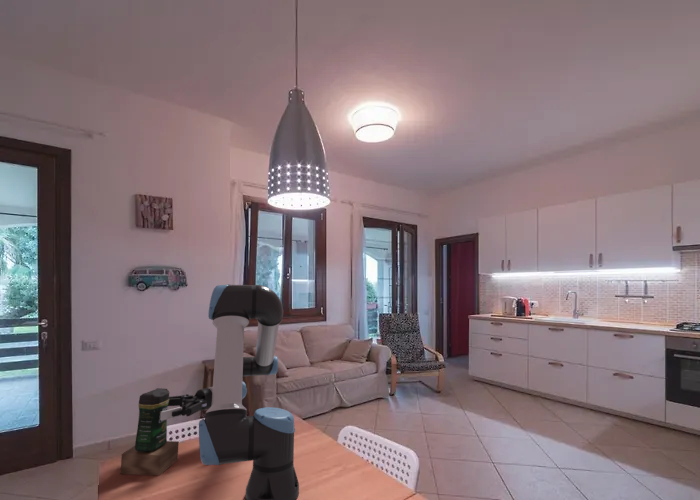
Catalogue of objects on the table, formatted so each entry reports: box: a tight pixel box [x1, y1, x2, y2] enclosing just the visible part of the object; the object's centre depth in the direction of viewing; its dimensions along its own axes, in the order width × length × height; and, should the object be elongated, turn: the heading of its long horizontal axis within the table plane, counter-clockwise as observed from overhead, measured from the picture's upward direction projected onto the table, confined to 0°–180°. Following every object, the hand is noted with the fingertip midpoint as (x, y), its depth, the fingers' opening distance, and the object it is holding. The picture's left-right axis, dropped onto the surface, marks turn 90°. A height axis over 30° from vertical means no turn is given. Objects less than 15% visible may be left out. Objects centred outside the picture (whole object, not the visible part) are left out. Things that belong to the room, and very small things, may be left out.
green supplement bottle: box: [134, 387, 170, 452], centre depth 125 cm, size 10×8×19 cm
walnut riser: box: [119, 440, 179, 476], centre depth 123 cm, size 13×11×6 cm
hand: (151, 411), depth 124 cm, fingers open, 13 cm apart
